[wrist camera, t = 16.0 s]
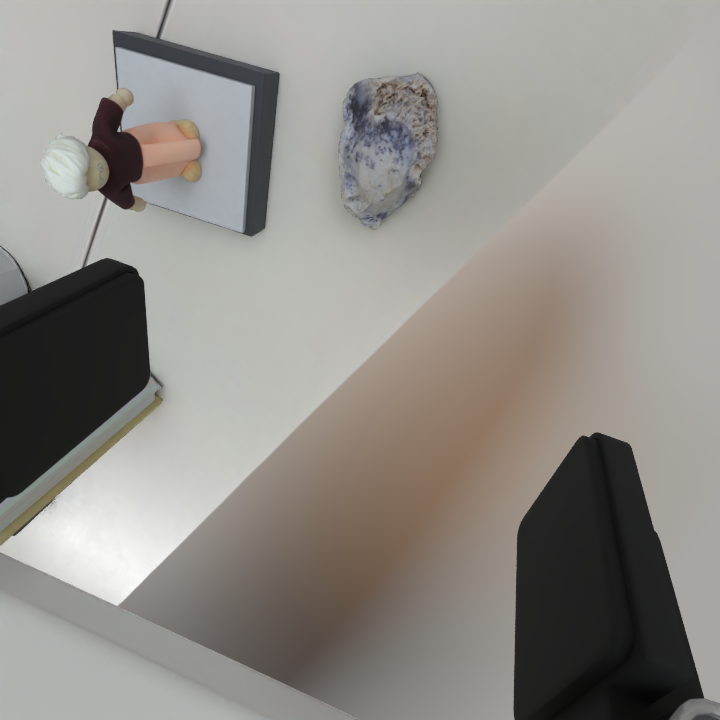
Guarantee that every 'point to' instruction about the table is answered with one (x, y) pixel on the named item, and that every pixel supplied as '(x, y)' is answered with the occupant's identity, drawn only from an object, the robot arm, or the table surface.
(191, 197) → the scale
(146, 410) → the book
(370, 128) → the mineral specimen
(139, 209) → the grandmother figurine
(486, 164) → the table surface
